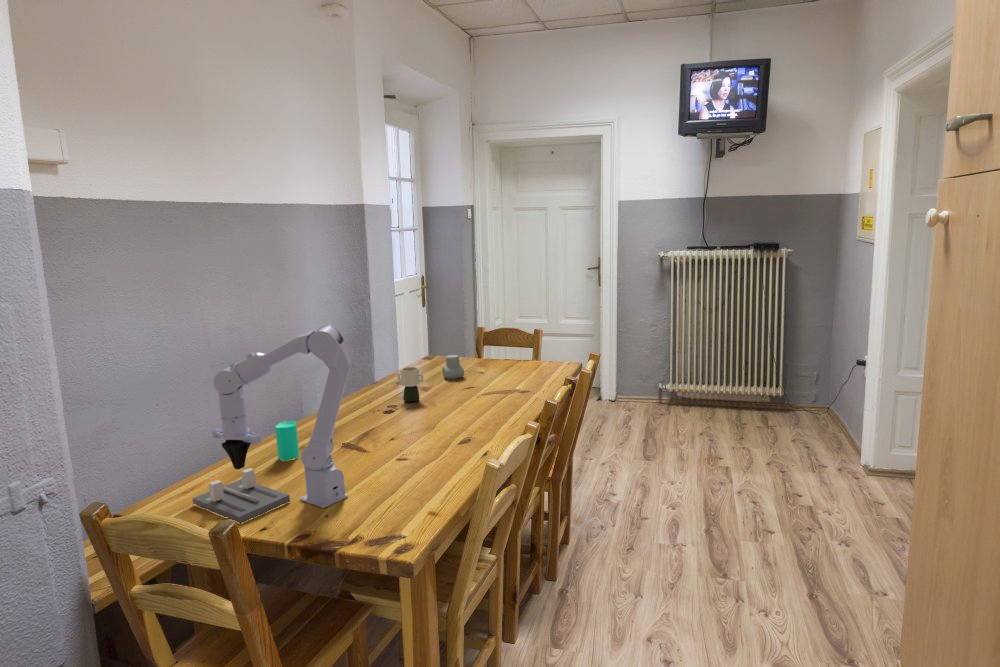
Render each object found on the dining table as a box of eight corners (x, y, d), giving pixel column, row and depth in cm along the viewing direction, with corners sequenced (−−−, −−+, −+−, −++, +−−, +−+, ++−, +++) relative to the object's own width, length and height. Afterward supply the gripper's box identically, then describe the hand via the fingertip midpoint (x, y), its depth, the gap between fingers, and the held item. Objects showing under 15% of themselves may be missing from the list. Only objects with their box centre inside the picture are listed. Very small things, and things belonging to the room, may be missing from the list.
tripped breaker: (224, 498, 159) (222, 481, 158) (215, 501, 157) (213, 484, 156) (219, 496, 160) (217, 479, 159) (210, 499, 158) (208, 483, 157)
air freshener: (441, 376, 287) (440, 354, 286) (459, 374, 290) (458, 353, 288) (447, 381, 277) (446, 359, 275) (465, 379, 279) (464, 357, 278)
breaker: (255, 485, 166) (254, 469, 165) (247, 488, 164) (245, 472, 163) (251, 483, 167) (249, 467, 166) (243, 487, 165) (241, 471, 164)
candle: (291, 452, 196) (288, 415, 194) (303, 456, 192) (299, 418, 190) (274, 458, 191) (270, 420, 189) (285, 462, 188) (281, 423, 186)
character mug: (428, 399, 250) (426, 367, 248) (420, 404, 243) (418, 371, 241) (403, 397, 254) (401, 366, 251) (394, 402, 247) (392, 370, 245)
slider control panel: (290, 502, 160) (288, 491, 160) (240, 524, 149) (238, 512, 149) (243, 485, 172) (242, 475, 171) (193, 505, 161) (192, 494, 160)
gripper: (267, 414, 158) (273, 465, 160) (225, 408, 164) (231, 458, 166) (245, 422, 151) (251, 476, 154) (202, 416, 158) (209, 468, 160)
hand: (239, 467), depth 159 cm, fingers closed
